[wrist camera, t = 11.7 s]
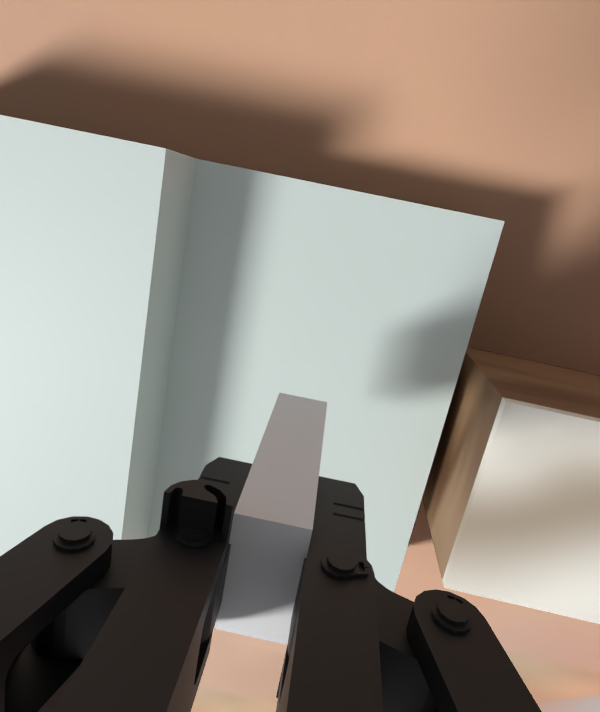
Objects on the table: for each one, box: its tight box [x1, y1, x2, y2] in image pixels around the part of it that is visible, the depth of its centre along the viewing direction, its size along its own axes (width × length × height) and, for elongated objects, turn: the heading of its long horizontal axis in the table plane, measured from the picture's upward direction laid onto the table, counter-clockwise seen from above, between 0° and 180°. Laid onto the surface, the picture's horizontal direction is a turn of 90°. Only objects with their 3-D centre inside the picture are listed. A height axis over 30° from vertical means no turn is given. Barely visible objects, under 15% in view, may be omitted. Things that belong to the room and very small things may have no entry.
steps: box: [0, 115, 505, 592], centre depth 21 cm, size 16×23×6 cm
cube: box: [422, 347, 600, 624], centre depth 20 cm, size 7×7×7 cm
